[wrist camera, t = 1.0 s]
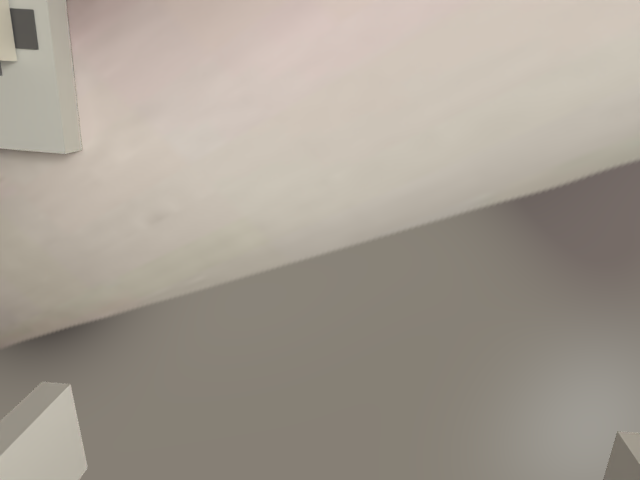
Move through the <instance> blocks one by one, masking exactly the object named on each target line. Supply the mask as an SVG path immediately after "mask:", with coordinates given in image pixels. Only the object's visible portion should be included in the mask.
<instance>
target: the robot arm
mask: <svg viewBox="0 0 640 480" xmlns="http://www.w3.org/2000/svg"><path fill="white" fill-rule="evenodd" d="M87 468H88V467H87V462H86V457H85V452H84V447H83V443H82V438H81V433H80V429H79V423H78V418H77V414H76V409H75V404H74V399H73V395H72V389H71V385H70V384H64V383H53V382H41V383H40V384H39V385H38V386H37V387H36V388H35V389H34V390H33V391H32V392H31V393H30V394H28V395H27V396H26V397H25V398H24V399H23V400H22V401H21V402H20V403H19V404H18V405H17V406H16V407H15V408H13V409H12V410H11V411H10V412H9V413H8V414H7V415H6V416H5V417H4V418H3V419H2V420H1V421H0V480H79V479H80V478H81V476H82V475H83V474H84V472H85V471H86V469H87ZM603 480H640V433H632V432H620V431H618V432H617V434H616V438H615V441H614V444H613V448H612V451H611V455H610V458H609V462H608V465H607V468H606V472H605V475H604V479H603Z"/></svg>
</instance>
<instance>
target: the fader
mask: <svg viewBox="0 0 640 480" xmlns="http://www.w3.org/2000/svg"><path fill="white" fill-rule="evenodd" d="M0 60H1V61H17V56H16V49H15V43H14V36H13V29H12V22H11V15H10V8H9V1H8V0H0Z"/></svg>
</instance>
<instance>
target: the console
mask: <svg viewBox="0 0 640 480" xmlns="http://www.w3.org/2000/svg"><path fill="white" fill-rule="evenodd" d="M8 1H9V8H10V15H11V22H12V29H13V36H14V43H15V49H16V56H17V61H1V60H0V149H11V150H23V151H35V152H47V153H59V154H68V153H72V152H76V151H80V150H82V144H81V135H80V125H79V116H78V107H77V98H76V89H75V79H74V70H73V61H72V52H71V42H70V33H69V24H68V15H67V5H66V0H8Z"/></svg>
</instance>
